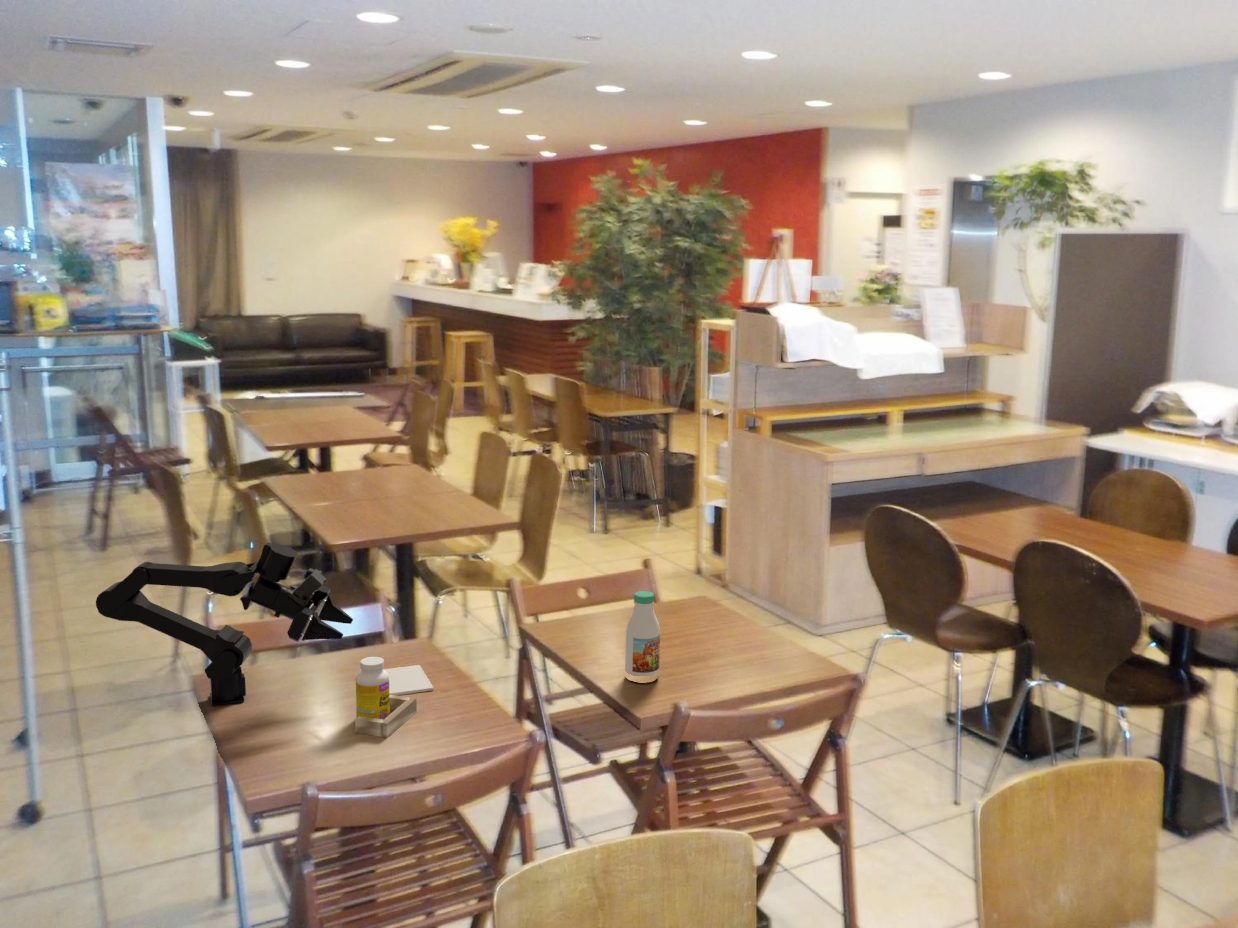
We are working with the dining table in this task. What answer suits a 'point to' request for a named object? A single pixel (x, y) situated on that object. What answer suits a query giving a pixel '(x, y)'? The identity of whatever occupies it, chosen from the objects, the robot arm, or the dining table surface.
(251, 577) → the robot arm
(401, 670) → the white mat
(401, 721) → the bottle cradle
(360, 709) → the supplement bottle
